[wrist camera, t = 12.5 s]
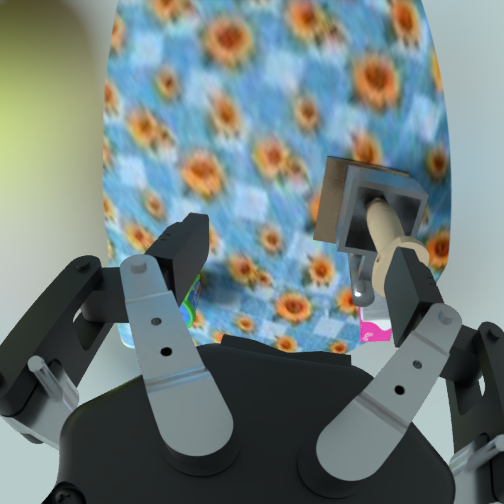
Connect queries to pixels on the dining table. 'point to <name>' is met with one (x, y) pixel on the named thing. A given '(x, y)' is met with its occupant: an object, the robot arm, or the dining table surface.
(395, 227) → the handle
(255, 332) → the dining table surface
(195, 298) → the snack cup
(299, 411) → the robot arm
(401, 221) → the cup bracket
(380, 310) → the supplement box
